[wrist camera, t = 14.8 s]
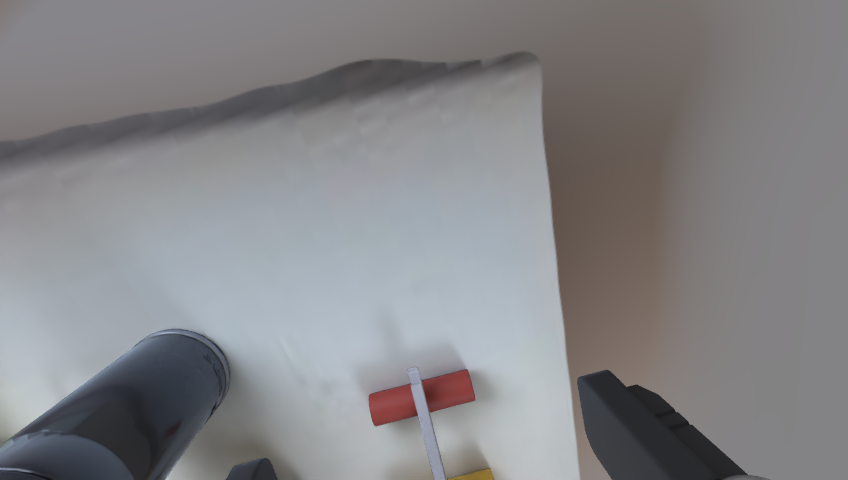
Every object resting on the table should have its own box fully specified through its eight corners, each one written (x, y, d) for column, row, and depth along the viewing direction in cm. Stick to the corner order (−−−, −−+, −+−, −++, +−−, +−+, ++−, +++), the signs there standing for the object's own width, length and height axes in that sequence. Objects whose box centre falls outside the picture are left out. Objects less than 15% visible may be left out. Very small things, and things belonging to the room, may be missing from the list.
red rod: (377, 413, 41) (376, 433, 38) (369, 388, 40) (367, 406, 38) (471, 389, 41) (477, 406, 38) (465, 363, 41) (471, 379, 38)
